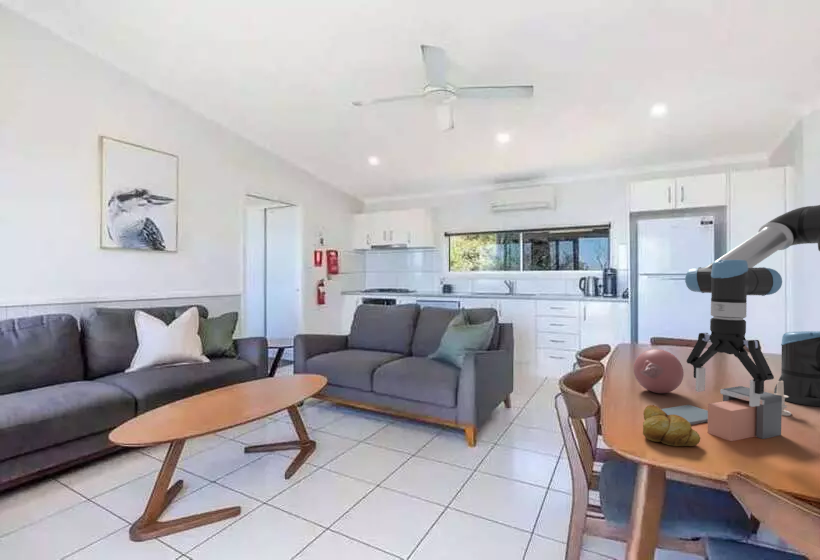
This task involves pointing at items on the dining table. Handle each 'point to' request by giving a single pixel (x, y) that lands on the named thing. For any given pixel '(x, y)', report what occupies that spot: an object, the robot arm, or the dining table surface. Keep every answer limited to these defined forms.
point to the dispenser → (760, 410)
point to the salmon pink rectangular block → (732, 419)
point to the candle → (781, 392)
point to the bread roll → (668, 428)
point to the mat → (689, 413)
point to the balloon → (658, 371)
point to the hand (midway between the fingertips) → (725, 398)
